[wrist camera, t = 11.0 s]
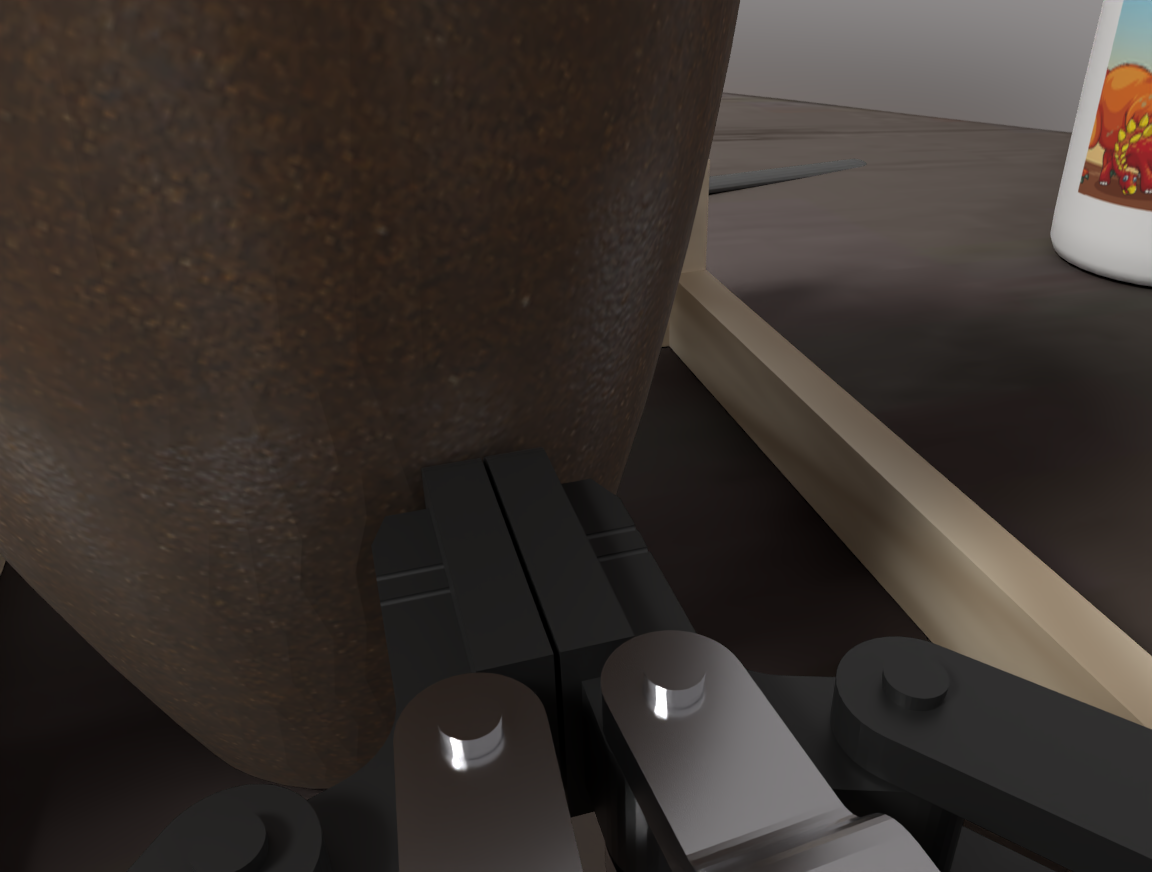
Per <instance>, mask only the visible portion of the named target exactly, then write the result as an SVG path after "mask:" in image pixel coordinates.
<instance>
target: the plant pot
mask: <svg viewBox="0 0 1152 872" xmlns="http://www.w3.org/2000/svg"><path fill="white" fill-rule="evenodd" d="M739 4H740V0H0V555H1V556H2V557H3V558H4V559H5V560H6V561H7V562H8V563H9V564H10V565H11V566H12V567H13V568H14V569H15V570H16V571H17V572H18V573H19V574H20V575H21V577H22V578H23V579H24V580H25V581H26V582H27V583H28V584H29V585H30V586H31V587H32V588H33V589H34V590H35V591H36V592H37V593H38V594H39V595H40V596H41V597H42V598H43V599H44V600H45V601H46V602H47V603H48V604H49V605H50V606H51V607H52V608H53V609H54V610H55V611H56V612H58V613H59V614H60V615H61V616H62V617H63V618H64V619H65V620H66V621H67V622H68V623H69V624H70V625H71V626H72V627H73V628H74V629H75V630H76V631H77V632H78V633H79V634H80V635H81V636H82V637H83V638H84V639H85V640H86V641H87V642H88V643H89V644H90V645H91V646H92V647H93V648H94V649H95V650H96V651H97V652H98V653H99V654H100V655H101V656H103V657H104V658H105V659H106V660H107V661H108V662H109V663H110V664H111V665H112V666H113V667H114V668H115V669H116V670H117V671H118V672H120V673H121V674H122V675H123V676H124V677H125V678H126V679H128V680H129V681H130V682H131V683H132V684H133V685H134V686H135V687H137V688H138V689H139V690H140V691H141V692H142V693H143V694H144V695H146V696H147V697H148V698H149V699H150V700H151V701H152V702H153V703H155V704H156V705H157V706H158V707H159V708H160V709H161V710H162V711H164V712H165V713H166V714H167V715H168V716H169V717H170V718H171V719H173V720H174V721H175V722H176V723H177V724H178V725H180V726H181V727H182V728H183V729H184V730H186V731H187V732H188V733H189V734H190V735H192V736H193V737H194V738H195V739H197V740H198V741H199V742H200V743H201V744H203V745H204V746H205V747H206V748H208V749H209V750H210V751H211V752H212V753H214V754H215V755H216V756H217V757H219V758H220V759H222V760H223V761H225V762H226V763H228V764H229V765H231V766H232V767H234V768H236V769H238V770H240V771H242V772H244V773H246V774H248V775H251V776H254V777H257V778H259V779H263V780H266V781H270V782H274V783H278V784H282V785H286V786H294V787H302V788H311V789H329V788H331V787H332V786H334V785H336V784H338V783H340V782H342V781H343V780H345V779H347V778H348V777H350V776H351V775H353V774H355V773H356V772H357V771H358V770H360V769H361V768H362V767H363V766H365V765H366V764H367V763H368V762H369V761H370V760H371V759H372V758H373V757H374V756H375V755H376V754H377V753H378V751H379V750H380V749H381V747H382V746H383V745H384V743H385V741H386V740H387V738H388V736H389V734H390V732H391V730H392V727H393V724H394V721H395V714H396V700H395V693H394V687H393V681H392V674H391V668H390V662H389V655H388V649H387V643H386V636H385V630H384V624H383V617H382V611H381V604H380V598H379V592H378V586H377V579H376V573H375V567H374V560H373V554H372V548H371V545H372V543H373V541H374V539H375V537H376V534H377V532H378V530H379V528H380V526H381V524H382V522H383V520H384V517H385V516H390V515H395V514H401V513H406V512H412V511H417V510H423V509H426V506H425V498H424V490H423V481H422V473H421V468H424V467H429V466H435V465H441V464H447V463H453V462H458V461H464V460H470V459H476V458H481V460H482V462H483V458H484V457H486V456H492V455H497V454H503V453H509V452H515V451H520V450H526V449H532V448H538V447H543V449H544V450H545V452H546V454H547V456H548V458H549V460H550V462H551V464H552V466H553V468H554V470H555V472H556V474H557V476H558V478H559V480H560V482H561V484H563V483H569V482H574V481H580V480H585V479H592V480H594V481H595V482H597V483H598V484H600V485H601V486H603V487H604V488H605V489H607V490H608V491H610V492H611V493H613V494H614V495H616V493H617V490H618V487H619V484H620V481H621V478H622V475H623V472H624V469H625V466H626V463H627V460H628V457H629V453H630V450H631V447H632V444H633V441H634V438H635V435H636V432H637V429H638V426H639V423H640V419H641V416H642V413H643V410H644V407H645V404H646V400H647V397H648V393H649V390H650V386H651V383H652V379H653V375H654V372H655V368H656V365H657V361H658V357H659V354H660V350H661V347H662V343H663V339H664V336H665V332H666V328H667V325H668V321H669V317H670V314H671V310H672V306H673V302H674V299H675V295H676V291H677V287H678V283H679V279H680V276H681V272H682V268H683V264H684V260H685V256H686V253H687V249H688V245H689V241H690V237H691V232H692V228H693V224H694V219H695V215H696V211H697V206H698V202H699V198H700V193H701V189H702V185H703V180H704V176H705V172H706V167H707V163H708V158H709V154H710V149H711V144H712V140H713V135H714V131H715V126H716V121H717V116H718V112H719V107H720V102H721V97H722V92H723V87H724V83H725V78H726V73H727V68H728V63H729V58H730V54H731V48H732V43H733V36H734V32H735V26H736V20H737V15H738V9H739Z"/></svg>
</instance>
